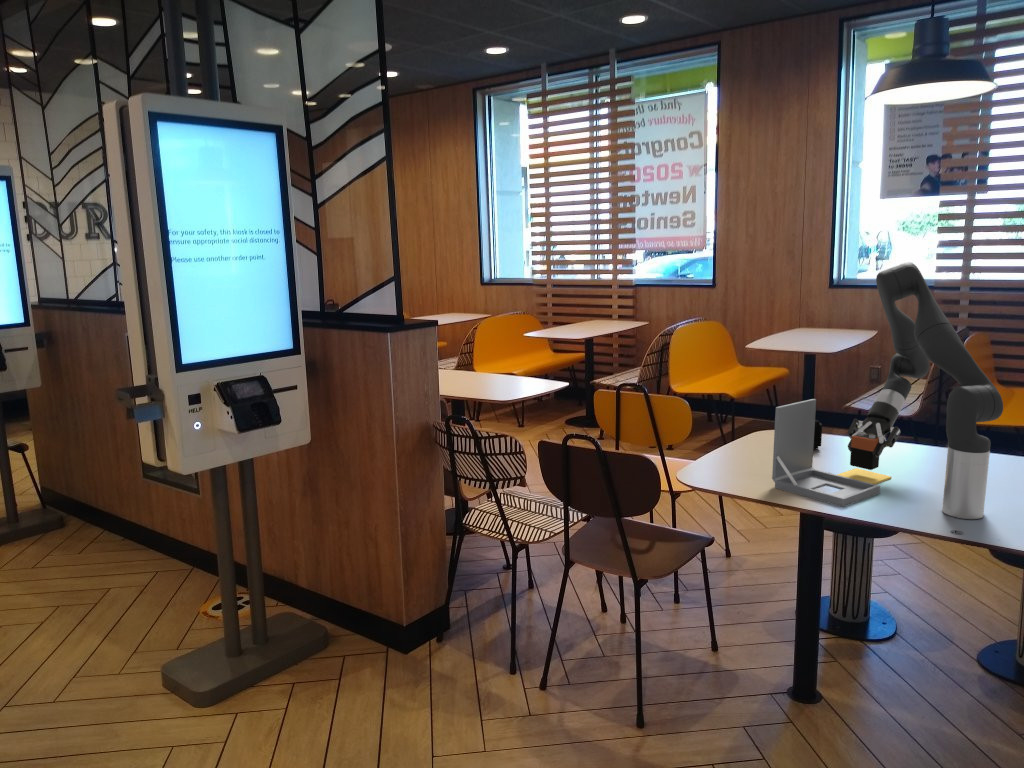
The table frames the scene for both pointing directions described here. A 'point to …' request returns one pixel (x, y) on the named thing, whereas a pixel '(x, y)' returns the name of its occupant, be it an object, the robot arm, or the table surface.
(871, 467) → the battery
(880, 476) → the yellow sticky note
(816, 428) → the cpu cooler
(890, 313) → the robot arm
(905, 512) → the table surface
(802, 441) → the equipment case
